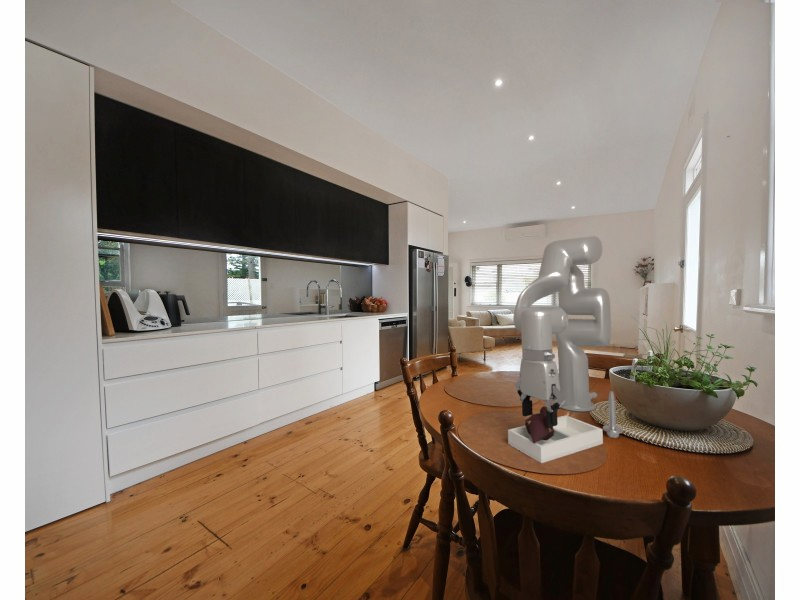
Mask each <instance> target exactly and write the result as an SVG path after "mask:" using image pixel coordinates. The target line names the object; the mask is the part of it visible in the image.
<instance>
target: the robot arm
mask: <svg viewBox="0 0 800 600" xmlns="http://www.w3.org/2000/svg"><path fill="white" fill-rule="evenodd" d="M602 254H603V244H602V241H601V240H600V238H599V237H598V236H595V235H594V236H593V235H592V236H586V237H576V238H568V239H561V240H556V241H552V242H549V243H548V244H547V245H546V246H545V248H544V250H543V255H542V260H541V263H540V268H539V272H538V277H537V278H536V279H535V280H533V281H532V282H530V283H529V284H528V285H527V286H526V287H525V288H524V289H523V290H522V291H521V292H520V293H519V295H518V297H517V299H516V300H517V301H516V304H515V309H514V312H513V319H512V320H513V325H514V328H515V329H516V330H517V331H519V332H520V333H521V354H522V357H521V359H520V360H521V361H520V366H519V380H518V381H516V382H515V383H514V387H515V389H516V391H517V395H518V396H519V400H520V402H521V409H522V410H521V412H522V414H521V415H522V417H525V418H526V417H530V416H532V415H533V413H534V412H533V400H531V399H532V398H534V399H537V400H539V401H542V402H544V404H545V406H546V407H547V409H548V411H546V425H547V427H553V426H557V424H558V422H557V417H558V411H560V410H561V409H563V410H567V411H571V412H590V411H594V409H595V408H596V407H595V404H594V403H593V402H592V400H593V399H595V398H597V397H598V393H596V392H594V391H593V392H590V379H589V376H590V375H589V359H588V355H587V354H586V352H585V351H584V349H582V347H592V348H593V347H594V348H595V347H596V348H597V347H598V348H605V347H608V346H609V345H610V343H611V341H612V321H611V316H612V315H611V299H610V295H609V293H608V291H607V290H606V289H604V288H602V287H585V275H584V272H583V271H582V270H581V269H580V267H578V266H585V265H586V266H587V265H593V264H595V263H597V262H598V261H599V260H600V259H601V257H602ZM556 293H557V300H558V301H557V303H558V307H557V306H533V304H534V303H536V302H537V301H539V300H541V299H543V298H545V297H548V296H552V295H553V294H556ZM569 316H592V317H594V318H592V319H590V318H569ZM553 334H554V335H555V341H556V347H557V357H558V358H557V359H558V366H557V363H556V361H554V359H555V357H556V355H555V354H554V352H553Z"/></svg>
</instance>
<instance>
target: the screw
mask: <svg viewBox="0 0 800 600" xmlns="http://www.w3.org/2000/svg"><path fill="white" fill-rule="evenodd" d="M607 404H608V405H607V406H608V407H607V410H608V424H605V425H603V426H602V431H605V432H606V436H608V437H609V438H613V439H617V438H619V437H620V434H622V433H624V430H623V428H622V427H620V426H618V425H617V417H616V416H617V415H616V414H617V409H616V408H617V406H616V400H615V394H614V391H613V390H611V391H609V394H608V401H607Z"/></svg>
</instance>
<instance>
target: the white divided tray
mask: <svg viewBox="0 0 800 600" xmlns="http://www.w3.org/2000/svg"><path fill="white" fill-rule="evenodd" d="M557 422H558V424H557V426H553V429H554V431H555V433H554V436H552V437H551V438H550V439H549V440H540V441H538V442H536V443H533V441H532V437H531V435H530V434H529V433H528V432H527V429H526V426H525V425H522V426H518V427H514V428H510V429H507V440H508V441H507V442H508V443H507V444H508V445H509V444H510V445H509V446H510V447H513V448H515V449H516V450H518V451H519V450H520V451H519V452H522V453H523V454H524V455H526V456H528V457H530V458H532V459H533V460H535V461H537V462H538V463H540V464H544V463H547V462H551V461H553V460H557V459H559V458H562V457H566V456H569V455H572V454H575V453H577V452H581V451H584V450H588V449H590V448H594V447H597V446H600V445H603V444H604V441H603V440H604V438H603V437H604V436H603V431H604V430H603V428H600V427H597V426H595V425H592V424H590V423H588V422H584V421H582V420H579V419H577V418H574V417H571V416H569V415H562V416H557Z"/></svg>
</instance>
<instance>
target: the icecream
mask: <svg viewBox="0 0 800 600" xmlns="http://www.w3.org/2000/svg"><path fill="white" fill-rule="evenodd" d="M546 411H548V409H547V407H546V405H545V406H542V407H541V408H540V410H539V413H535V414H532V415H530V416H528V418H527V419H526V420H524V426H526V429H527V432H528V433H529V434H530V435H531V437H532V441H533V443H536V442H538V441H540V440H549V439H550V438H551V437H552V436H554V433H555V431H554V429H553V427H547V425H546Z"/></svg>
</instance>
